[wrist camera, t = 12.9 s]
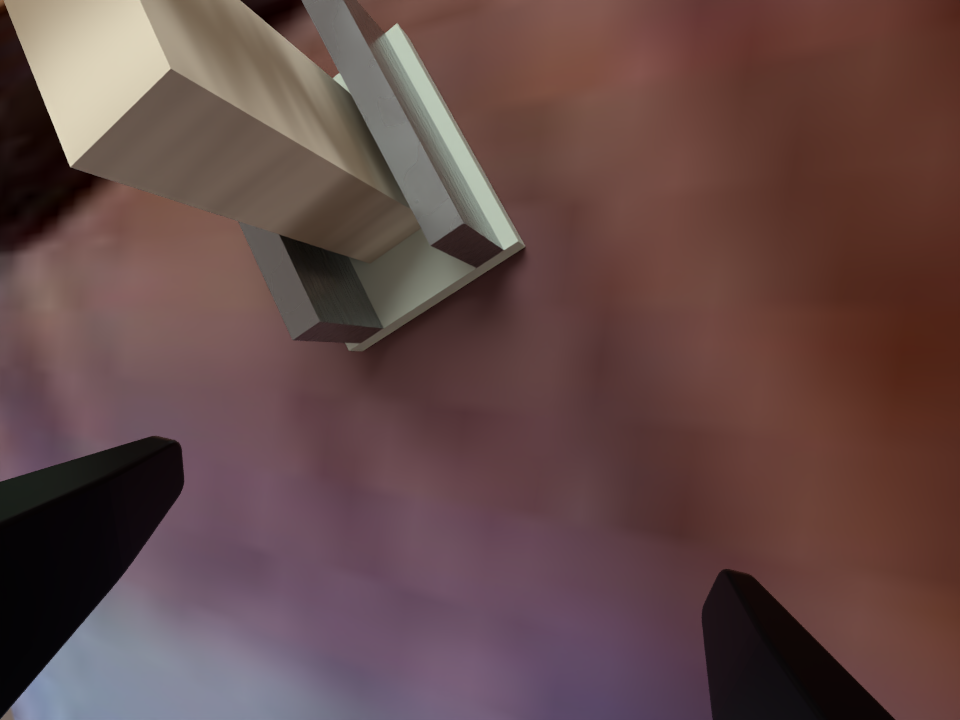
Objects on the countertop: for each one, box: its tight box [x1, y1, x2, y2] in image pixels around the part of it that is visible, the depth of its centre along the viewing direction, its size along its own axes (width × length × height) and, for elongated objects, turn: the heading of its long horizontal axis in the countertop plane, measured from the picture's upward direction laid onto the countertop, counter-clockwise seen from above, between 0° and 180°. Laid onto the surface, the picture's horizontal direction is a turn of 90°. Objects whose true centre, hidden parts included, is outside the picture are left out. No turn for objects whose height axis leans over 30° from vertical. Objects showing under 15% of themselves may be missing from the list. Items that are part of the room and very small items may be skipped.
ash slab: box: [4, 0, 421, 264], centre depth 15 cm, size 5×3×11 cm, turn 29°
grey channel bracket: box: [238, 0, 525, 351], centre depth 19 cm, size 10×8×5 cm
